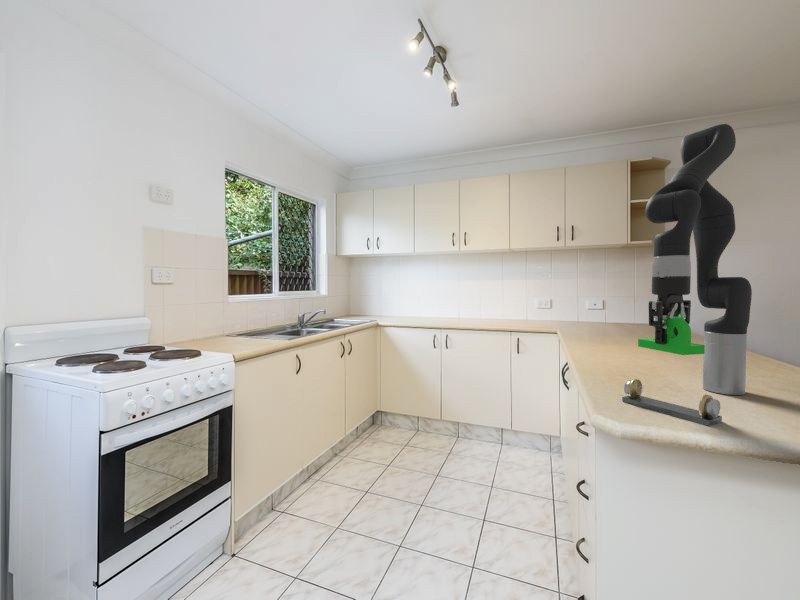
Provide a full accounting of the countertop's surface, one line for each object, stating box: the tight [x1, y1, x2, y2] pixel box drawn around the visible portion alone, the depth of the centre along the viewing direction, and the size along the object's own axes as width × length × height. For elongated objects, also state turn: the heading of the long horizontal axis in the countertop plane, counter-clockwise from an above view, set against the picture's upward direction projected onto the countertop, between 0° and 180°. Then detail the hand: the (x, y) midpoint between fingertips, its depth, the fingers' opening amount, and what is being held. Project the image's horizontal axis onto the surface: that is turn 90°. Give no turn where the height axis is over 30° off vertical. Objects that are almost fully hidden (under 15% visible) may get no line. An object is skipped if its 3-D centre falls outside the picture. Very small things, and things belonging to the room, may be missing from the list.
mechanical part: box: [637, 319, 705, 356], centre depth 87 cm, size 12×6×8 cm, turn 12°
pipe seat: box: [621, 378, 723, 427], centre depth 88 cm, size 6×19×6 cm, turn 26°
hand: (669, 342), depth 87 cm, fingers closed on mechanical part, 7 cm apart
